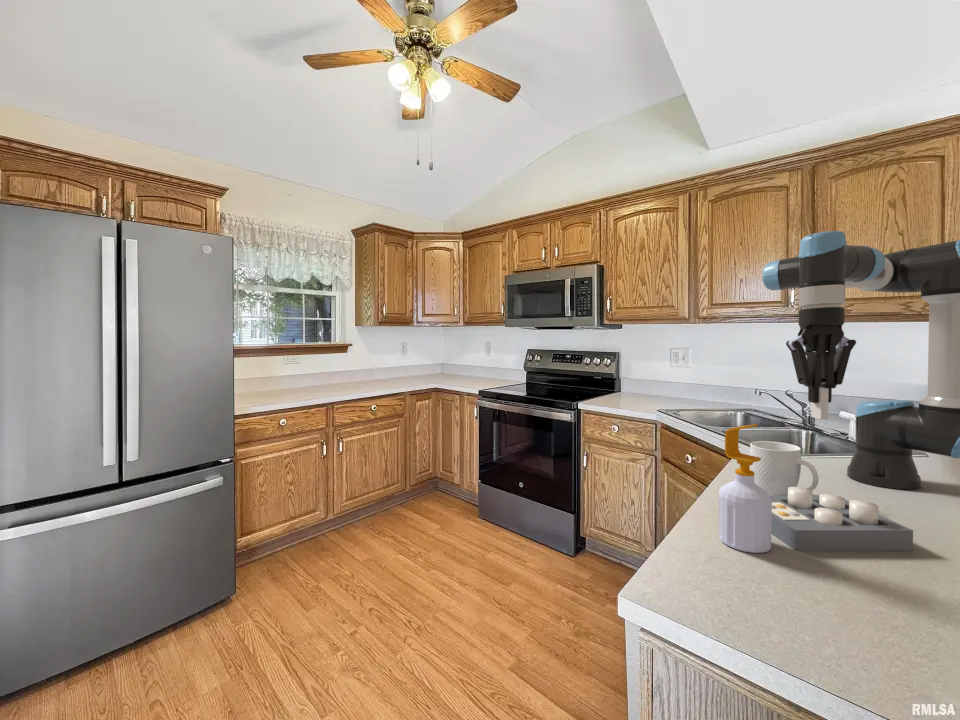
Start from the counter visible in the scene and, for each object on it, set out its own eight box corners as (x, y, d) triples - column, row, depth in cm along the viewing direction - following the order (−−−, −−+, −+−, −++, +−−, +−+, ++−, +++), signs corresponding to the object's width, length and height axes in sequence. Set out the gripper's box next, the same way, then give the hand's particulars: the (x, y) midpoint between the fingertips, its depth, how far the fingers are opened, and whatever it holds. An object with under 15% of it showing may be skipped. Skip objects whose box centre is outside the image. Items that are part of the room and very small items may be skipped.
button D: (830, 528, 87) (830, 507, 87) (847, 538, 83) (848, 516, 83) (808, 528, 87) (809, 507, 87) (825, 538, 83) (825, 516, 83)
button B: (864, 520, 87) (865, 499, 87) (884, 530, 82) (884, 508, 82) (843, 520, 87) (843, 499, 87) (861, 530, 83) (861, 508, 82)
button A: (833, 512, 95) (834, 493, 95) (850, 521, 91) (850, 501, 90) (814, 512, 95) (814, 493, 95) (829, 521, 91) (829, 501, 91)
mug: (826, 500, 105) (826, 449, 104) (809, 510, 99) (809, 457, 98) (760, 484, 117) (760, 438, 117) (742, 492, 111) (742, 444, 111)
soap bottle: (755, 558, 78) (756, 430, 77) (709, 538, 86) (709, 422, 85) (781, 547, 82) (782, 425, 81) (734, 529, 90) (735, 418, 89)
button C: (802, 505, 95) (802, 486, 95) (817, 513, 91) (817, 493, 91) (783, 505, 95) (783, 486, 95) (796, 513, 91) (797, 493, 91)
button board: (836, 512, 98) (836, 494, 97) (912, 550, 80) (913, 528, 79) (741, 512, 99) (741, 494, 98) (795, 550, 81) (795, 528, 81)
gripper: (838, 308, 91) (836, 414, 92) (777, 309, 91) (776, 415, 92) (868, 305, 83) (866, 420, 84) (802, 306, 84) (800, 421, 85)
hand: (819, 417), depth 88 cm, fingers closed
